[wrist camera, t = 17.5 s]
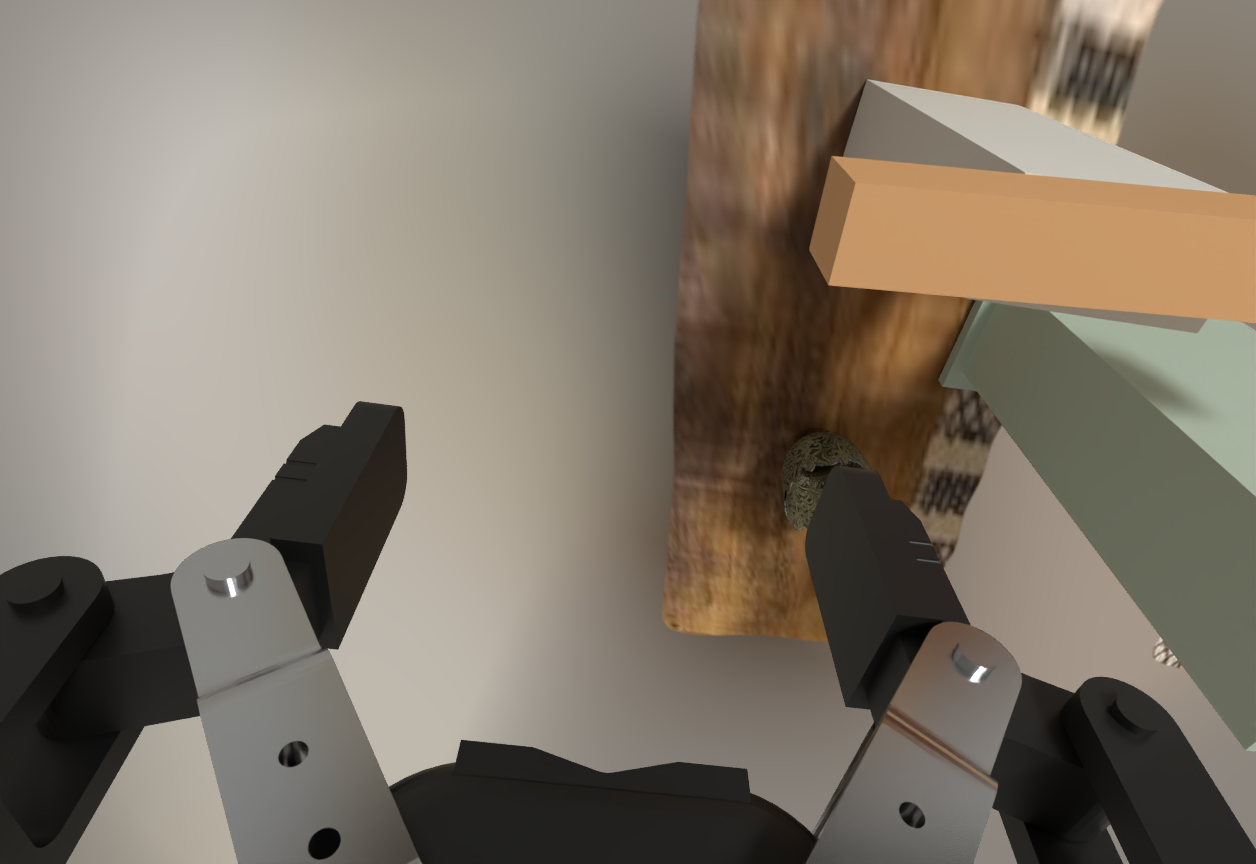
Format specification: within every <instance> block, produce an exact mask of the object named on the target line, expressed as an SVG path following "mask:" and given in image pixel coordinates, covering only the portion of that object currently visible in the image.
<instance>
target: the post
mask: <svg viewBox="0 0 1256 864" xmlns="http://www.w3.org/2000/svg"><path fill="white" fill-rule="evenodd" d="M843 157H849V158H860V159H871V160H881V161H892V162H902V163H913V164H924V165H934V166H945V167H956V168H966V169H977V170H988V171H998V172H1009V173H1020V174H1030V175H1041V176H1052V177H1062V178H1073V179H1083V180H1094V181H1105V182H1115V183H1126V184H1137V185H1147V186H1158V187H1169V188H1179V189H1190V190H1201V191H1211V192H1222V193H1227V192H1225V191H1223V190H1220V189H1218V188H1216V187H1213V186H1211V185H1209V184H1206V183H1204V182H1201V181H1199V180H1197V179H1194V178H1192V177H1189V176H1187V175H1184V174H1182V173H1180V172H1177V171H1175V170H1173V169H1170V168H1168V167H1165V166H1163V165H1161V164H1158V163H1156V162H1153V161H1151V160H1149V159H1146V158H1144V157H1142V156H1139V155H1137V154H1134V153H1132V152H1130V151H1127V150H1125V149H1122V148H1120V147H1118V146H1115V145H1113V144H1110V143H1108V142H1106V141H1103V140H1101V139H1098V138H1096V137H1094V136H1091V135H1089V134H1086V133H1084V132H1082V131H1079V130H1077V129H1075V128H1072V127H1070V126H1067V125H1065V124H1063V123H1060V122H1058V121H1055V120H1053V119H1051V118H1048V117H1046V116H1043V115H1041V114H1039V113H1036V112H1034V111H1031V110H1029V109H1027V108H1024V107H1022V106H1019V105H1014V104H1008V103H1002V102H997V101H991V100H985V99H979V98H973V97H967V96H962V95H956V94H950V93H944V92H938V91H932V90H926V89H921V88H915V87H909V86H903V85H897V84H891V83H885V82H880V81H874V80H868V79H867V81H866V84H865V87H864V90H863V93H862V97H861V100H860V103H859V106H858V109H857V113H856V116H855V119H854V122H853V125H852V129H851V132H850V135H849V138H848V142H847V145H846V148H845V151H844V154H843ZM966 298H967V297H966ZM967 299H972V300H978V301H985V302H992V303H998V304H1005V305H1012V306H1018V307H1025V308H1031V309H1038V310H1045V311H1051V312H1058V313H1065V314H1071V315H1078V316H1085V317H1091V318H1098V319H1104V320H1111V321H1118V322H1124V323H1131V324H1138V325H1144V326H1151V327H1158V328H1164V329H1171V330H1177V331H1184V332H1191V333H1197V334H1198V332H1199V331H1200V329H1201V328H1202V326H1203V325H1204V323H1205V322H1206V321H1207V319H1205V318H1194V317H1182V316H1171V315H1160V314H1148V313H1137V312H1126V311H1114V310H1103V309H1092V308H1080V307H1069V306H1058V305H1046V304H1035V303H1024V302H1012V301H1001V300H990V299H978V298H967Z"/></svg>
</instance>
